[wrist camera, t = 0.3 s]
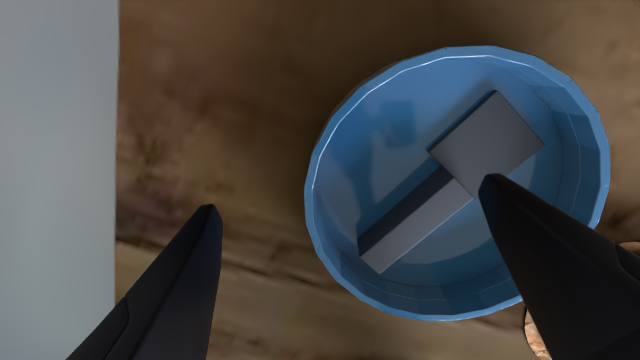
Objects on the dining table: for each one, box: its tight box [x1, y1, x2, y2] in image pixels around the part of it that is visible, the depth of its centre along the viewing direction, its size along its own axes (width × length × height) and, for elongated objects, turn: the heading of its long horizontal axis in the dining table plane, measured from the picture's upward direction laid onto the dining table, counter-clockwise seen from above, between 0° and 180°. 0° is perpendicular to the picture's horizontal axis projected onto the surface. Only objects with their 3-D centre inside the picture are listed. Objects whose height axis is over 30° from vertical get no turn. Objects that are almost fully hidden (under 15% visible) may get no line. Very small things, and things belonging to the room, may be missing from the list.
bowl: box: [304, 45, 610, 321], centre depth 22 cm, size 20×20×4 cm
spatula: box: [357, 90, 545, 274], centre depth 22 cm, size 15×6×3 cm, turn 137°
